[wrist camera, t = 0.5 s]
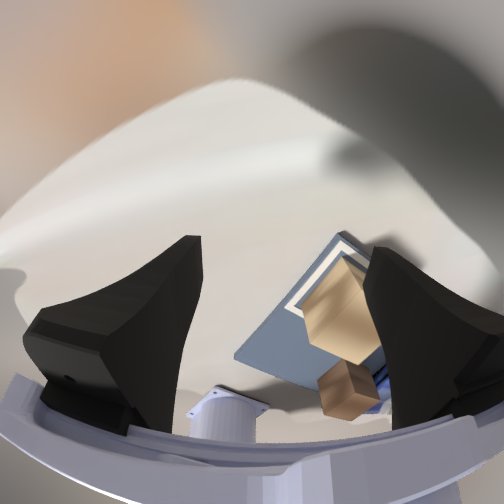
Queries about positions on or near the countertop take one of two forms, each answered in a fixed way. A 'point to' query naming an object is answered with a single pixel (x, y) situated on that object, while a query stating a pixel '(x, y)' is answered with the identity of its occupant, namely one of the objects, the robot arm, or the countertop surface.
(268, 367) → the board
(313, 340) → the oak base block
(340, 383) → the walnut block
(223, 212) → the countertop surface
